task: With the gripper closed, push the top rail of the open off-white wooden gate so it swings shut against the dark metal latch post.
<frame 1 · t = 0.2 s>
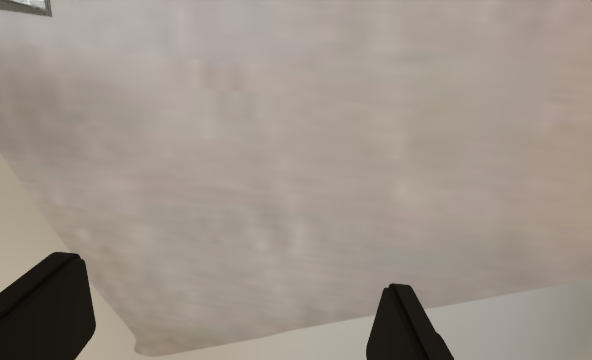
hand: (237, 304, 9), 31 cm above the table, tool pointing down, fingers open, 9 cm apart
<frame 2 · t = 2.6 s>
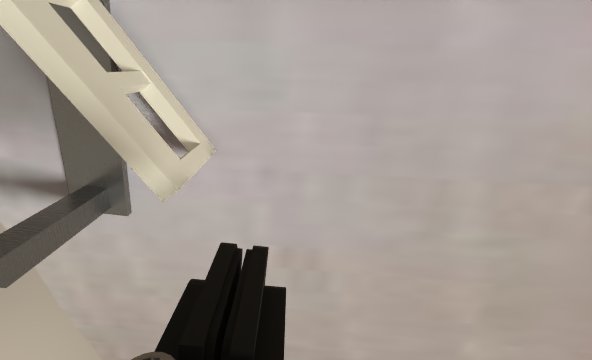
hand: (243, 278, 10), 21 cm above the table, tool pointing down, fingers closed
gate: (121, 83, 22), point 6 cm above the table, hinge at 40.0°
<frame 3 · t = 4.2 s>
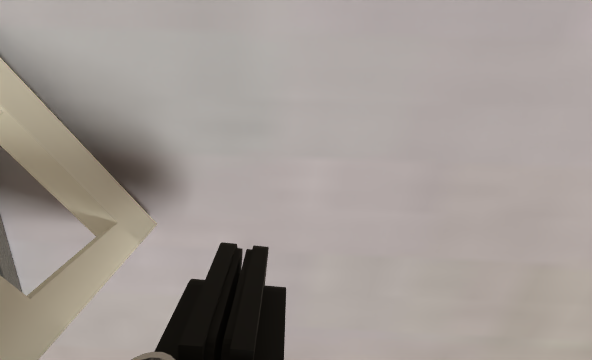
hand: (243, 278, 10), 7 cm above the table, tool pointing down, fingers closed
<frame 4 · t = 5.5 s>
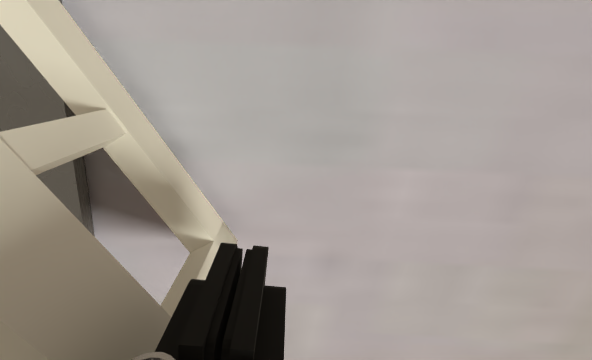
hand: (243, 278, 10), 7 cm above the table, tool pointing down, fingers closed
gate: (51, 145, 10), point 6 cm above the table, hinge at 36.9°
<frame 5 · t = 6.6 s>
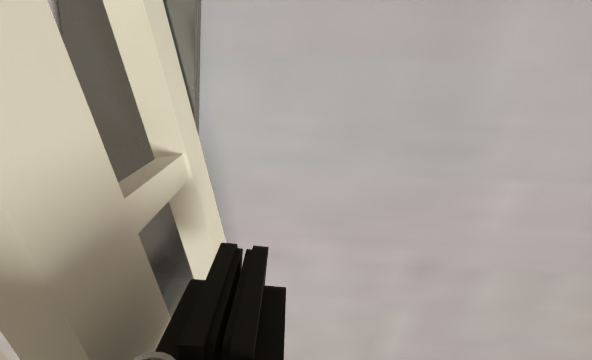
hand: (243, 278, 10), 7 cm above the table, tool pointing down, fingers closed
gate: (141, 194, 10), point 6 cm above the table, hinge at 15.6°, touching gripper
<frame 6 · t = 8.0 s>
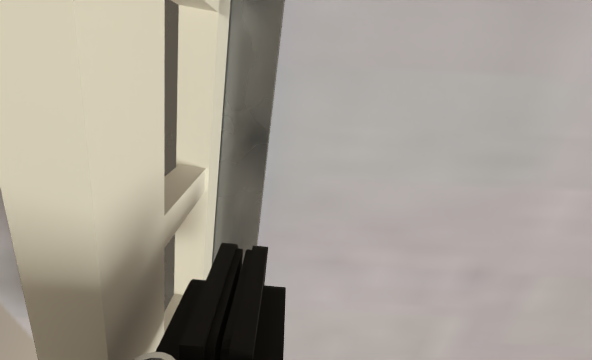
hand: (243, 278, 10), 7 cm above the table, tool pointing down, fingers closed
gate: (166, 206, 11), point 6 cm above the table, hinge at -1.1°, touching gripper
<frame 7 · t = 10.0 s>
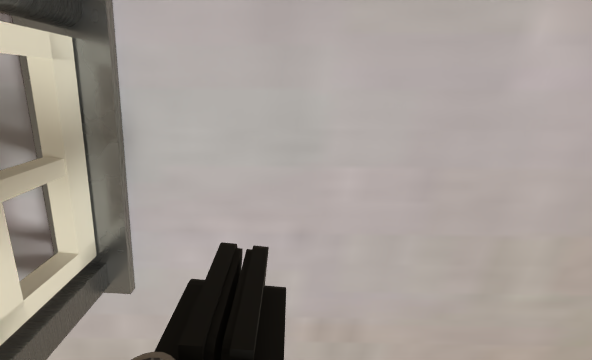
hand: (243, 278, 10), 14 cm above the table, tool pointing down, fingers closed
gate: (17, 179, 17), point 6 cm above the table, hinge at -0.5°
gate frame: (66, 5, 19), on the table
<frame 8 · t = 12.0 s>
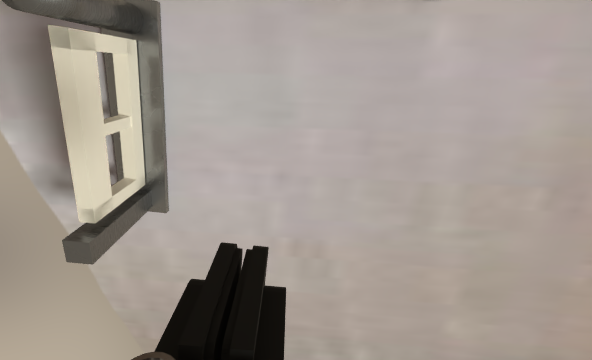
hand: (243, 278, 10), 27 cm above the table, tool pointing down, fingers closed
gate: (109, 125, 29), point 6 cm above the table, hinge at -0.5°
gate frame: (132, 19, 31), on the table
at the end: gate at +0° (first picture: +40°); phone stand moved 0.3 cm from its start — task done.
